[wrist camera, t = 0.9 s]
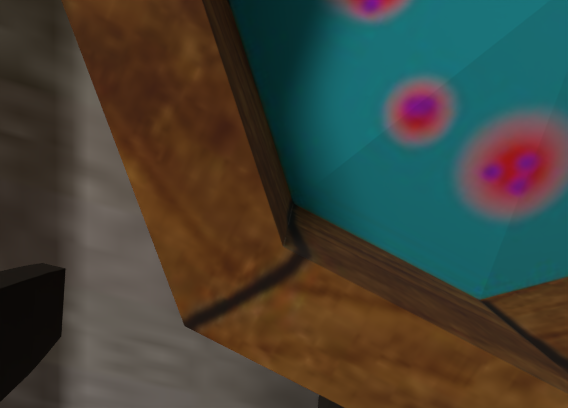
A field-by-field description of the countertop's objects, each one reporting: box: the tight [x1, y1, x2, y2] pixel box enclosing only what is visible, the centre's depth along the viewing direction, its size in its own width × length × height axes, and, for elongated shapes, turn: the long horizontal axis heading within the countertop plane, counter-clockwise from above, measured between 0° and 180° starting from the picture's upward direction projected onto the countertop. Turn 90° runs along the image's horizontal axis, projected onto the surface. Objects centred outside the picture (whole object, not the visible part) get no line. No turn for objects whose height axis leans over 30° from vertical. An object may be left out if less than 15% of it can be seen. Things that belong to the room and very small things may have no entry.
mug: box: [62, 0, 568, 408], centre depth 10 cm, size 20×14×15 cm
